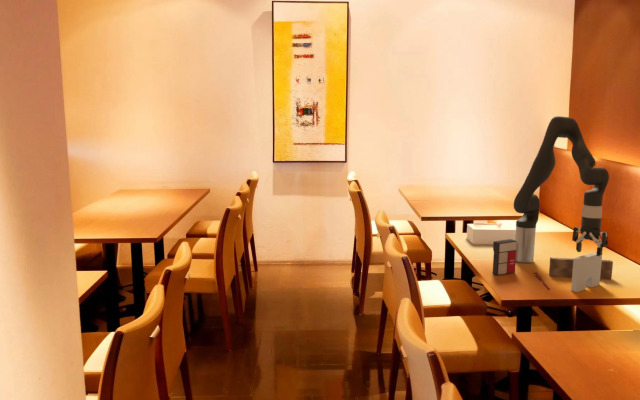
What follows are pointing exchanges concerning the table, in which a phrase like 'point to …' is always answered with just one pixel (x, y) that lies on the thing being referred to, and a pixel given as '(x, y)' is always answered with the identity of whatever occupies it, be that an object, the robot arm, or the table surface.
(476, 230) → the tissue box
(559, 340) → the table surface
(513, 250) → the grey red box
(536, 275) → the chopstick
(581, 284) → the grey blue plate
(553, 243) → the table surface
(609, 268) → the walnut board
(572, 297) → the table surface
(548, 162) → the robot arm
